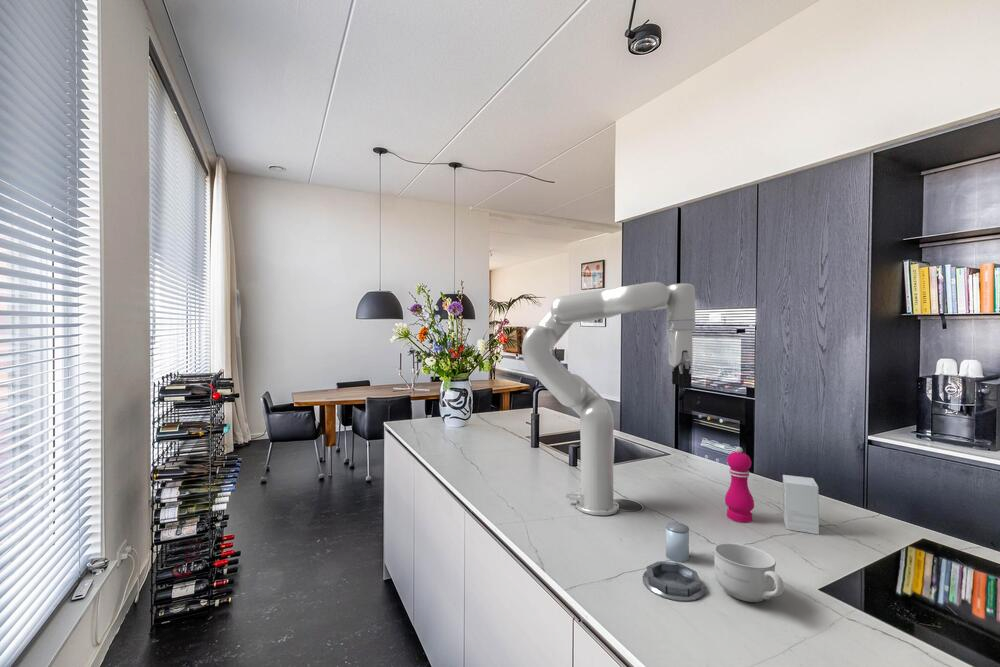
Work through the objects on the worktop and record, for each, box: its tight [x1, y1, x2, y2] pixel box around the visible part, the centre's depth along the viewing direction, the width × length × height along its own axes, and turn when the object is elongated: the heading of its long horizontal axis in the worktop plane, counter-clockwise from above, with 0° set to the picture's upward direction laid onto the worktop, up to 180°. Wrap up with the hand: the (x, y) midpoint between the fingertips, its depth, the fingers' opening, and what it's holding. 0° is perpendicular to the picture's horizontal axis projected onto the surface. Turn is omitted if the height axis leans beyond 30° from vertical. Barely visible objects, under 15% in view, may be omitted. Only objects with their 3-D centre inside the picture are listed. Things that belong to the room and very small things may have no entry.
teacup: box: [713, 542, 785, 603], centre depth 87 cm, size 14×11×8 cm
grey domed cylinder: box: [665, 521, 690, 563], centre depth 102 cm, size 5×5×7 cm
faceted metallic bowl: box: [642, 560, 706, 602], centre depth 91 cm, size 12×12×2 cm
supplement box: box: [782, 474, 820, 535], centre depth 118 cm, size 7×7×13 cm
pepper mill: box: [724, 446, 755, 524], centre depth 124 cm, size 7×7×20 cm
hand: (681, 386), depth 127 cm, fingers open, 9 cm apart
